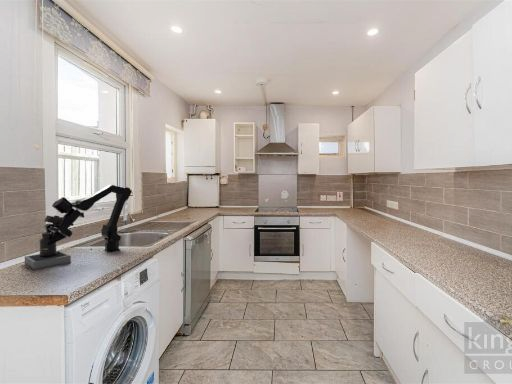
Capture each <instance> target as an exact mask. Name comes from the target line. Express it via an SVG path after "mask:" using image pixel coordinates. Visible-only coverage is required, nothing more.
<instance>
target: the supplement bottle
mask: <svg viewBox="0 0 512 384" xmlns="http://www.w3.org/2000/svg"><path fill="white" fill-rule="evenodd" d="M53 235H54V232H46V231H45V232H42V233H41V238H40V239H39V254H40V257H41V258H50V257H54V256H56V254H57V251H58V250H57V242H55V243H53V244H51V245H47V243H48V242H49V241H50V239H51V238H52V237H53Z"/></svg>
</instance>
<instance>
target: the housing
mask: <svg viewBox="0 0 512 384" xmlns="http://www.w3.org/2000/svg"><path fill="white" fill-rule="evenodd" d="M71 256H72V255H70V254H69V253H66V252H64V251H61V250H57V254H56V256H54V257H50V258H41V257H40V253H38V254H32V255H31V254H30V255H25V256H24V265H25V266H26V267H28V268H29V269H31V270H32V271H39V270H44V269H48V268H54V267H55V268H56V267H59V266H64V265H69V264H71V263H72V261H71Z"/></svg>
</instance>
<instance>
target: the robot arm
mask: <svg viewBox="0 0 512 384" xmlns="http://www.w3.org/2000/svg"><path fill="white" fill-rule="evenodd" d="M111 193H113V194H115V200H116V201H115V204H114V206H113V208H112V211H111V214H110V217H109V219H108V222H107V223H106V224H103V225H102V227H101V229H100V235H101V236H102V237H103V239H104V240H105V243H104V247H105V248H104V251H105V252H109V253H111V252H116V251H120V250H121V248H120V241H121V239H122V236H120V234H118V223H119V219H120V216H121V215H122V211H123V208H124V205H125V203H126V202H127V200H129V198H130V196H131V194H132V190H131V188H130V187H128V186H127V187H126V186H117V185H114V184H108V185H106V186H105V187H103V188H102V189H100V190H97V191H96V192H94V193H93V194H91V195H89V196H87V197H83V198H80V199H77V200H75V202H70V201H69V200H68V199H67V198H66V197H65V196H63V197H61V198H59V199H57V200H55V201H54V202H53V203H52V207H53V209H55V210H56V211H57V212H59V213H60V214H64V215H63V216H60V215H57V214H56V215H53V216H52V215H46V217H45V219H44V222H45V223H46V224H45V225H44V228H45V232H54V235H53V237H52V238H51V239H50V241H49V242H48V243H47V245H51V244H53V243H55V242H56V243H57V242H60V241H61V240H64V239H67V238H71V237H72V235H73V231H72V230H70V227H71V226H74V223H75V222H76V221H77V219H78V218H83V219H84V218H85V213H84V212H87V211H88V210H89V209H91V208H92V207H93V206H94V205H95V203H96V202H98V201H99V200H101V199H103V198H105V197H106V196H109V195H110V194H111ZM81 211H82V212H81ZM83 211H84V212H83Z"/></svg>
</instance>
